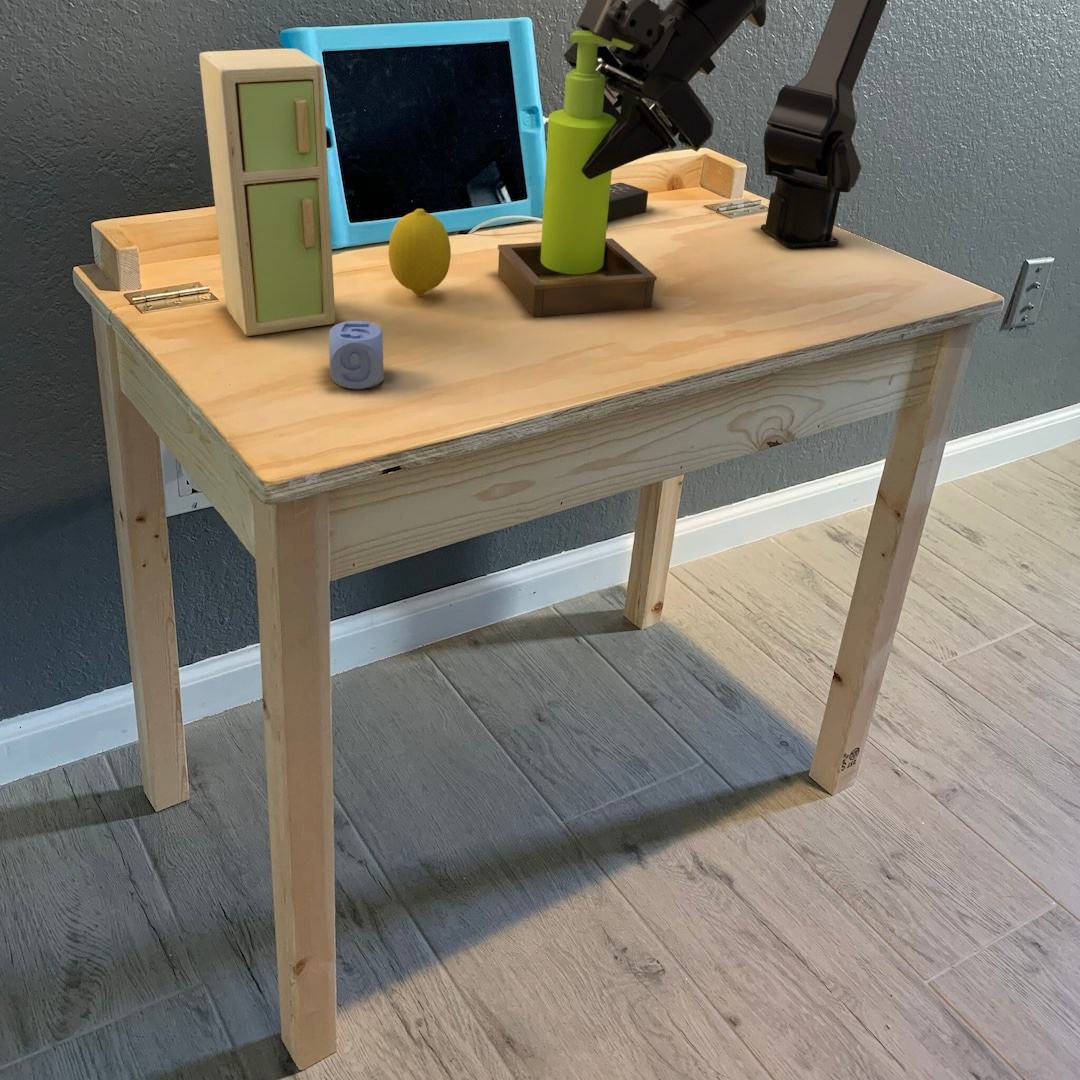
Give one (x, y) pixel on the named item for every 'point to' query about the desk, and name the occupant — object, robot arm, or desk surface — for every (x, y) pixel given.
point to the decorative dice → (356, 354)
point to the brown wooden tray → (576, 282)
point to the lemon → (419, 252)
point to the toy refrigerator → (270, 186)
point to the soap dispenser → (577, 167)
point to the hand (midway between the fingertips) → (569, 165)
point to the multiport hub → (626, 201)
